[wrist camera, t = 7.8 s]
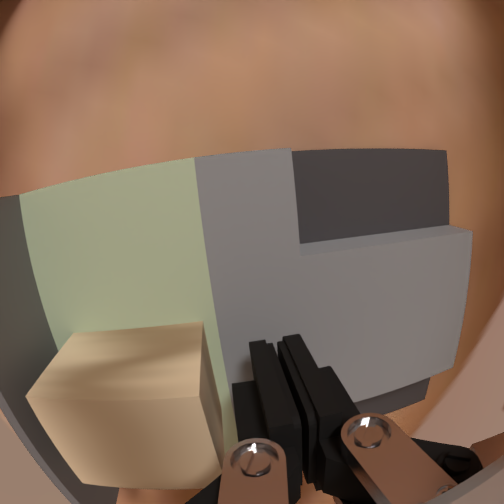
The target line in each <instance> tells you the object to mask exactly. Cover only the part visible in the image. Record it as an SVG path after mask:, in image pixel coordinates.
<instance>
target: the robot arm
mask: <svg viewBox="0 0 504 504" xmlns="http://www.w3.org/2000/svg"><path fill="white" fill-rule="evenodd" d="M249 349H250V357H251V364H252V371H253V378H254V380H252V381H245V382H238V383H232V394H233V403H234V411H235V420H236V428H237V436H238V443H236V444H235V445H233V446H232V447H231V448H230V449H229V450H228V451H227V452H226V454H225V457H224V460H223V467H222V474H221V475H219V476H218V477H217V478H216V479H215V480H214V481H212V482H211V483H210V484H209V485H208V486H206V487H205V488H204V489H203V490H201V491H200V492H199V493H198V494H197V495H195V496H194V497H193V498H191V499H190V500H189V501H188V502H186V503H185V504H296V502H297V501H298V500H299V499H300V485H302V470H303V473H304V476H305V479H306V482H307V484H309V483H314V486H315V489H316V491H318V490H322V491H323V493H326V494H329V495H332V496H333V499H334V502H335V504H504V432H503V433H501V434H498V435H495V436H493V437H491V438H488V439H485V440H483V441H480V442H477V443H474V444H472V446H471V447H470V448H465V447H462V446H456V445H449V444H442V443H437V442H430V441H425V440H420V439H415V438H410V437H409V436H408V435H407V434H406V433H405V432H404V431H403V430H402V429H401V428H400V427H399V426H398V425H397V424H396V423H395V422H394V421H392V420H391V419H390V418H388V417H387V416H384V415H382V414H377V413H363V414H360V412H359V410H358V409H357V407H356V406H355V404H354V402H353V401H352V399H351V397H350V396H349V394H348V393H347V391H346V389H345V388H344V386H343V385H342V383H341V381H340V380H339V378H338V376H337V375H336V373H335V372H334V370H333V368H332V367H331V366H326V367H321V368H318V366H317V364H316V362H315V360H314V359H313V357H312V355H311V353H310V351H309V350H308V348H307V346H306V344H305V342H304V341H303V339H302V337H301V335H300V334H294V335H288V336H283V337H282V341H278V342H277V351H278V356H277V353H276V351H275V348H274V345H273V343H266V340H265V339H264V340H258V341H251V342H249Z"/></svg>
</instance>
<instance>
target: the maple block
mask: <svg viewBox="0 0 504 504" xmlns="http://www.w3.org/2000/svg"><path fill="white" fill-rule="evenodd" d="M25 397H26V398H27V400H28V402H29V404H30V406H31V408H32V409H33V411H34V413H35V415H36V416H37V418H38V420H39V421H40V423H41V425H42V426H43V428H44V430H45V431H46V433H47V434H48V436H49V437H50V439H51V440H52V442H53V443H54V445H55V446H56V448H57V449H58V451H59V452H60V454H61V455H62V457H63V458H64V459H65V461H66V462H67V464H68V465H69V466H70V468H71V469H72V470H73V472H74V473H75V474H76V475H77V477H78V478H79V479H80V481H81V482H82V483H84V484H91V485H99V486H109V487H119V488H133V489H202V488H205V487H206V486H208V485H209V484H210V483H211V482H212V481H214V480H215V479H216V478H217V477H218V476H219V475H221V474H222V467H223V460H224V457H225V452H224V438H223V424H222V408H221V404H220V399H219V395H218V391H217V386H216V382H215V377H214V373H213V368H212V364H211V359H210V354H209V349H208V344H207V339H206V334H205V329H204V324H203V321H198V322H190V323H181V324H172V325H163V326H154V327H144V328H133V329H121V330H109V331H96V332H81V333H73V334H72V335H71V337H70V338H69V339H68V340H67V342H66V343H65V344H64V345H63V347H62V348H61V349H60V350H59V352H58V353H57V354H56V356H55V357H54V358H53V359H52V361H51V362H50V363H49V365H48V366H47V367H46V369H45V370H44V371H43V373H42V374H41V375H40V377H39V378H38V379H37V381H36V382H35V384H34V385H33V386H32V388H31V389H30V390H29V392H28V393H27V395H26V396H25Z"/></svg>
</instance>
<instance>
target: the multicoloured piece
mask: <svg viewBox="0 0 504 504" xmlns="http://www.w3.org/2000/svg"><path fill="white" fill-rule="evenodd" d="M472 236H473V231H470V230H466V229H463V228H459V227H455V226H451V225H449V183H448V165H447V152H446V151H445V150H425V149H329V150H307V151H291V148H282V149H269V150H257V151H246V152H236V153H227V154H218V155H210V156H202V157H195V158H188V159H181V160H174V161H168V162H162V163H156V164H150V165H144V166H138V167H133V168H128V169H123V170H117V171H113V172H108V173H103V174H98V175H94V176H89V177H85V178H81V179H76V180H72V181H68V182H64V183H60V184H56V185H52V186H48V187H45V188H41V189H37V190H34V191H30V192H27V193H23V194H20V195H14V196H7V197H1V198H0V408H1V410H2V412H3V413H4V415H5V417H6V418H7V420H8V422H9V423H10V425H11V426H12V428H13V429H14V431H15V433H16V434H17V436H18V437H19V439H20V440H21V441H22V443H23V444H24V446H25V447H26V449H27V450H28V451H29V453H30V454H31V456H32V457H33V458H34V460H35V461H36V462H37V464H38V465H39V466H40V467H41V469H42V470H43V471H44V472H45V474H46V475H47V476H48V477H49V479H50V480H51V481H52V482H53V483H54V485H55V486H56V487H57V488H58V489H59V490H60V492H61V493H62V494H63V495H64V496H65V497H66V498H67V499H68V500H69V501H70V502H71V504H116V501H117V497H118V492H119V487H109V486H99V485H91V484H84V483H82V482H81V481H80V479H79V478H78V477H77V475H76V474H75V473H74V472H73V470H72V469H71V468H70V466H69V465H68V464H67V462H66V461H65V459H64V458H63V457H62V455H61V454H60V452H59V451H58V449H57V448H56V446H55V445H54V443H53V442H52V440H51V439H50V437H49V436H48V434H47V433H46V431H45V430H44V428H43V426H42V425H41V423H40V421H39V420H38V418H37V416H36V415H35V413H34V411H33V409H32V408H31V406H30V404H29V402H28V400H27V398H26V397H25V396H26V395H27V393H28V392H29V390H30V389H31V388H32V386H33V385H34V384H35V382H36V381H37V379H38V378H39V377H40V375H41V374H42V373H43V371H44V370H45V369H46V367H47V366H48V365H49V363H50V362H51V361H52V359H53V358H54V357H55V356H56V354H57V353H58V352H59V350H60V349H61V348H62V347H63V345H64V344H65V343H66V342H67V340H68V339H69V338H70V337H71V335H72V334H73V333H81V332H96V331H109V330H121V329H133V328H144V327H154V326H163V325H172V324H181V323H190V322H198V321H203V324H204V329H205V334H206V339H207V344H208V349H209V354H210V359H211V364H212V368H213V373H214V377H215V382H216V386H217V391H218V395H219V399H220V404H221V408H222V424H223V438H224V452H225V454H226V452H227V451H228V450H229V449H230V448H231V447H232V446H233V445H235V444H236V443H238V436H237V428H236V420H235V411H234V403H233V394H232V383H238V382H245V381H252V380H254V378H253V371H252V364H251V357H250V349H249V342H251V341H258V340H264V339H265V340H266V343H273V345H274V348H275V351H276V353H277V356H278V351H277V342H278V341H282V337H283V336H288V335H294V334H300V335H301V337H302V339H303V341H304V342H305V344H306V346H307V348H308V350H309V351H310V353H311V355H312V357H313V359H314V360H315V362H316V364H317V366H318V368H321V367H326V366H331V367H332V368H333V370H334V372H335V373H336V375H337V376H338V378H339V380H340V381H341V383H342V385H343V386H344V388H345V389H346V391H347V393H348V394H349V396H350V397H351V399H352V401H353V402H354V404H355V406H356V407H357V409H358V410H359V412H360V414H363V413H377V414H382V415H384V414H387V413H390V412H392V411H395V410H398V409H401V408H403V407H406V406H409V405H411V404H414V403H416V402H419V401H421V400H424V399H425V395H426V392H427V388H428V384H429V380H430V377H431V376H434V375H436V374H438V373H441V372H443V371H446V370H448V369H450V368H453V365H454V361H455V357H456V352H457V348H458V344H459V339H460V334H461V329H462V323H463V318H464V312H465V306H466V299H467V292H468V284H469V275H470V265H471V253H472Z"/></svg>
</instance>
